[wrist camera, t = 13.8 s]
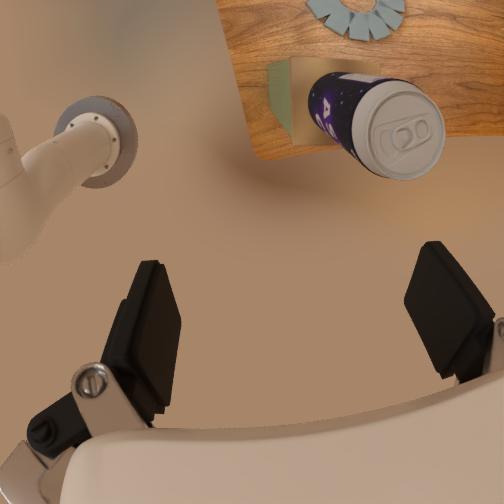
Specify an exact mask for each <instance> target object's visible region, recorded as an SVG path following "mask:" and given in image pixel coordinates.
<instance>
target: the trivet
mask: <svg viewBox="0 0 504 504" xmlns="http://www.w3.org/2000/svg"><path fill="white" fill-rule="evenodd" d="M306 5H307V6H308V8H309V9H310V10H311V12H312V13H313V15H314V16H315V17H316V19H317V20H318V19H320V18H322V17H325V16H327V15H329V16H328V18H327V19H326V21H325V23H324V24H323V25H324V26H325V27H327V28H329V29H330V30H332V31H334V32H335V33H337V34H339V35H340V36H343V35H344V33H345V31H346V30H347V28H348V39H354V40H361V41H370V36H369V33H370V34H371V36H372V38H373V40H374V41H375V40H379V39H381V38H384V37H386V36H389V35H391V33H390V31H389V29H388V27H389V28H390V29H391V30H393V31H396V30H397V28H398V27H399V25H400V24H401V22H402V20H403V19H404V18H403V17H402V16H401V15H399V14H398V13H397V12H400V13H405V6H404V0H376V5H375V6H374V8H373V9H372V11H370V12H367V13H359V12H353V11H351V10H350V9H348V8H347V7H345V6H343V5H342V4H341V2H340V1H339V0H311V1H308V2H306Z"/></svg>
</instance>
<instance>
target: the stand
mask: <svg viewBox="0 0 504 504" xmlns="http://www.w3.org/2000/svg"><path fill="white" fill-rule="evenodd" d="M332 72H349V73H358V74H367V75H375V76H380V64H377V63H370V62H363V61H355V60H345V59H334V58H320V57H292V56H291V57H289V60H284V61H279V62H274V63H270V64H267V73H268V93H269V108H270V110H271V111H272V112H273V114H274V115H275V116H276V118H277V119H278V120H279V122H280V123H281V125H282V126H283V127H284V129H285V130H286V131H287V133H288V134H289V136H290V137H291V144H292V145H293V146H307V145H337V146H341V145H339V144H338V143H337V142H336V141H335V140H334V139H332V138H331V137H330V136H329V135H328V134H326V133H325V132H324V131H323V130H321V129H320V128H319V127H318V126H317V125H316V124H315V123H314V121H313V119H312V118H311V116H310V113H309V109H308V96H309V93H310V90H311V88H312V86H313V85H314V83H315V82H316V81H317V80H318V79H319V78H321V77H322V76H324V75H326V74H328V73H332Z"/></svg>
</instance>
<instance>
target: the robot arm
mask: <svg viewBox="0 0 504 504" xmlns="http://www.w3.org/2000/svg"><path fill="white" fill-rule="evenodd" d="M97 117H98V118H97ZM73 124H74V125H73ZM115 138H116V140H115ZM119 153H120V136H119V133H118V130H117V128H116V127H115V125H114V124H113V122H112V121H111V120H110V119H109V118H107V117H106V116H104V115H102V114H99V113H96V112H89V113H84V114H81V115H79V116H77V117H76V118H74V119H73V120H72V121H71V122H70V123H69V124H68V126H67V128H66V130H65V131H64V132H62V133H60V134H58V135H56V136H55V137H53V138H51V139H49V140H47V141H45V142H44V143H42V144H40V145H38V146H36V147H35V148H33V149H31V150H30V151H29V152H27V153H26V154H25V155H24V156H23V157H22V159H21V158H20V155H19V152H18V149H17V145H16V142H15V139H14V135H13V131H12V128H11V125H10V123H9V120H8V119H7V117H6V116H5V115H4V114H2V113H0V265H9V264H12V263H14V262H16V261H18V260H19V259H21V258H22V257H23V256H24V255H25V254H26V253H27V252H28V251H29V250H30V249H31V248H32V246H33V245H34V243H35V242H36V240H37V239H38V237H39V235H40V234H41V231H42V230H43V228H44V226H45V224H46V222H47V220H48V219H49V217H50V216H51V215H52V213H53V212H54V211H55V210H56V209H57V207H59V205H60V204H61V203H62V202H63V201H64V200H65V199H66V198H68V197H69V196H70V195H71V193H73V192H74V191H75V190H76V189H77V188H78V187H79V186H80V185H81V184H82V183H83V182H84V181H85V180H87V179H88V178H89V177H95V176H99V175H102V174H104V173H106V172H107V171H108V170H109V169H111V167H112V166H113V165H114V164H115V162H116V161H117V159H118V156H119ZM107 165H108V166H107ZM404 305H405V307H406V309H407V311H408V313H409V315H410V317H411V319H412V321H413V323H414V325H415V327H416V329H417V331H418V333H419V335H420V337H421V339H422V341H423V343H424V346H425V348H426V350H427V352H428V354H429V357H430V359H431V361H432V363H433V365H434V368H435V370H436V371H437V372H438V373H440V375H441V378H442V379H445V378H448V377H451V376H453V375H454V373H455V375H456V381H455V385H454V387H452V388H449V389H447V390H443V391H441V392H438V393H435V394H432V395H429V396H425V397H422V398H419V399H416V400H412V401H409V402H405V403H402V404H398V405H394V406H390V407H386V408H382V409H378V410H374V411H369V412H365V413H360V414H355V415H350V416H345V417H339V418H333V419H327V420H321V421H314V422H306V423H298V424H290V425H280V426H269V427H253V428H227V429H180V428H156V427H155V426H154V424H152V421H153V420H154V414H164V411H165V406H169V405H170V401H171V392H172V385H173V378H174V370H175V363H176V356H177V350H178V342H179V336H180V330H181V317H180V314H179V311H178V308H177V304H176V301H175V298H174V295H173V292H172V288H171V285H170V283H169V279H168V275H167V272H166V268H165V266H164V264H160V263H159V261H158V260H149V261H141V263H140V265H139V268H138V270H137V273H136V275H135V278H134V280H133V283H132V285H131V288H130V290H129V293H128V296H127V299H124V300H122V301H121V303H120V306H119V308H118V311H117V314H116V316H115V319H114V322H113V325H112V328H111V331H110V334H109V336H108V339H107V343H106V345H105V348H104V352H103V354H102V358H101V361H100V363H98V362H92V363H88V364H85V365H83V366H82V367H80V368H79V369H78V370H77V372H76V373H75V374H74V376H73V378H72V380H71V392H70V393H69V394H67V395H66V396H64V397H63V398H61V399H60V400H58V401H56V402H55V403H54V404H52V405H51V406H49V407H48V408H46V409H45V410H43V411H42V412H40V413H39V414H37V415H36V416H35V417H34V418H32V419H31V421H30V423H29V424H28V428H27V440H26V441H24V440H22V441H21V442H20V443H19V444H18V446H17V447H16V448H15V450H14V451H13V452H12V453H11V455H10V456H9V457H8V458H7V460H6V461H5V462H4V464H3V465H2V466H1V468H0V493H1V494H2V496H3V497H4V499H5V500H6V501H7V502H8V504H504V318H499V319H497V320H496V322H495V323H494V322H493V318H494V317H495V313H494V312H493V310H492V308H491V307H490V305H489V304H488V302H487V301H486V299H485V298H484V297H483V295H482V294H481V292H480V291H479V290H478V288H477V287H476V285H475V284H474V283H473V281H472V280H471V279H470V278H469V276H468V275H467V273H466V272H465V271H464V270H463V268H462V267H461V266H460V264H459V263H458V262H457V261H456V259H455V258H454V257H453V256H452V254H451V253H450V252H449V251H448V250H447V248H446V247H445V246H444V245H443V244H442V243H441V242H440V241H429V242H426V243H425V244H424V246H422V247H421V250H420V253H419V256H418V259H417V263H416V265H415V269H414V271H413V275H412V277H411V280H410V283H409V286H408V289H407V292H406V294H405V297H404Z"/></svg>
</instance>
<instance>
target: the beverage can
mask: <svg viewBox="0 0 504 504" xmlns="http://www.w3.org/2000/svg"><path fill="white" fill-rule="evenodd" d="M308 109H309V113H310V116H311V118H312V119H313V121H314V123H315V124H316V125H317V126H318V127H319V128H320V129H321V130H323V131H324V132H325V133H326V134H328V135H329V136H330V137H331V138H332V139H334V140H335V141H336V142H337V143H338V144H339V145H341V146H342V147H343V148H344V149H345V150H346V151H348V152H349V153H350V154H351V155H352V156H353V157H354V158H356V160H358V161H359V162H360V163H361V164H362V165H363V166H364V167H365V168H366V169H368V170H369V171H371V172H372V173H374V174H376V175H378V176H381V177H385V178H392V179H396V180H401V181H405V180H412V179H416V178H419V177H420V176H422V175H424V174H426V173H427V172H428V171H430V169H431V168H432V167H433V166H434V165H435V164H436V162H437V161H438V159H439V157H440V156H441V153H442V151H443V147H444V143H445V124H444V120H443V117H442V114H441V112H440V110H439V108H438V107H437V105H436V104H435V103H434V102H433V101H432V100H431V99H430V98H429V97H428V96H427V95H426V94H425V93H424V92H423V91H422V90H421V89H420V88H418V87H417V86H415V85H414V84H412V83H410V82H407V81H404V80H400V79H394V78H388V77H382V76H375V75H367V74H358V73H349V72H332V73H328V74H326V75H324V76H322V77H321V78H319V79H318V80H317V81H316V82H315V83H314V85H313V86H312V88H311V90H310V93H309V96H308Z"/></svg>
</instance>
